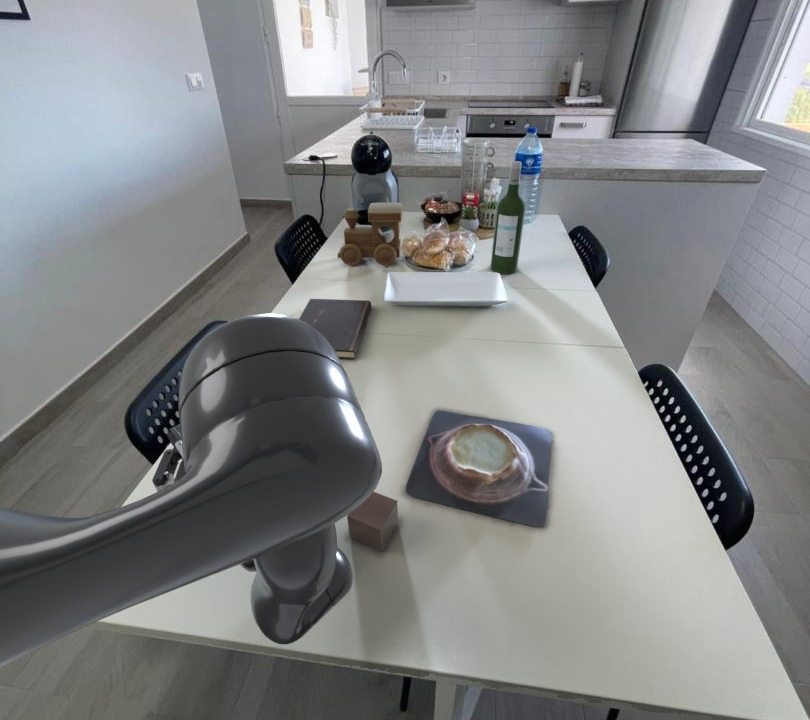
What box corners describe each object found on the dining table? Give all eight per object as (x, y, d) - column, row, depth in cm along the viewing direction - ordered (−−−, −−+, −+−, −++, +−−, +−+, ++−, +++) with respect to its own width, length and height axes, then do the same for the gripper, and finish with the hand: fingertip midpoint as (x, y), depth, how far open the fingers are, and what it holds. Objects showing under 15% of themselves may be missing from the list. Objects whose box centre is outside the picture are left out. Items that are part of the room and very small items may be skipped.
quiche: (551, 431, 78) (555, 414, 76) (544, 530, 62) (549, 513, 60) (435, 409, 83) (436, 392, 81) (402, 495, 68) (402, 477, 65)
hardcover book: (284, 356, 98) (282, 347, 97) (311, 306, 117) (310, 298, 116) (355, 359, 97) (354, 350, 96) (371, 308, 116) (371, 300, 114)
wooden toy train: (404, 253, 146) (403, 201, 136) (402, 267, 136) (401, 212, 127) (343, 253, 146) (337, 201, 137) (337, 267, 137) (331, 212, 127)
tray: (507, 312, 113) (508, 300, 111) (383, 311, 114) (382, 299, 112) (498, 283, 126) (499, 271, 124) (387, 282, 128) (387, 271, 126)
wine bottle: (515, 263, 137) (529, 158, 120) (518, 274, 131) (534, 165, 113) (489, 263, 138) (500, 158, 120) (491, 274, 131) (502, 165, 114)
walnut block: (381, 552, 60) (380, 530, 57) (350, 538, 62) (346, 516, 59) (398, 522, 64) (397, 500, 61) (367, 510, 66) (365, 488, 63)
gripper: (270, 450, 59) (211, 391, 69) (168, 511, 51) (118, 435, 61) (280, 487, 63) (223, 427, 73) (187, 548, 56) (138, 472, 66)
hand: (175, 431), depth 67 cm, fingers closed
